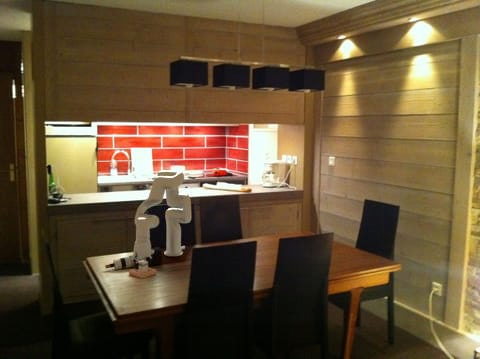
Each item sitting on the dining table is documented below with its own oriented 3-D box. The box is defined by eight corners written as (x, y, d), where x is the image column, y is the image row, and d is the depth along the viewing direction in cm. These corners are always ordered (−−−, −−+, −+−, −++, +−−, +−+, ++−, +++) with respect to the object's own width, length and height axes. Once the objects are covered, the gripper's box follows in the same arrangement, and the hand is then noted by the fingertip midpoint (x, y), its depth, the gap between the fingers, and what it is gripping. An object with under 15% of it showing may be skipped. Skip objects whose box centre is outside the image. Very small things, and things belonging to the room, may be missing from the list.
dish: (143, 270, 271) (143, 265, 270) (156, 273, 265) (156, 269, 264) (129, 274, 262) (129, 270, 261) (142, 278, 256) (142, 274, 255)
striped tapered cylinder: (106, 276, 271) (102, 260, 273) (159, 264, 286) (156, 249, 288) (108, 273, 262) (104, 257, 265) (163, 261, 277) (160, 245, 280)
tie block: (143, 271, 266) (143, 260, 265) (147, 273, 264) (148, 261, 263) (137, 273, 263) (137, 261, 262) (142, 274, 260) (142, 263, 260)
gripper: (149, 234, 270) (149, 262, 272) (126, 240, 256) (126, 269, 258) (158, 236, 265) (157, 265, 268) (135, 242, 251) (135, 272, 253)
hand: (142, 267), depth 263 cm, fingers open, 9 cm apart
